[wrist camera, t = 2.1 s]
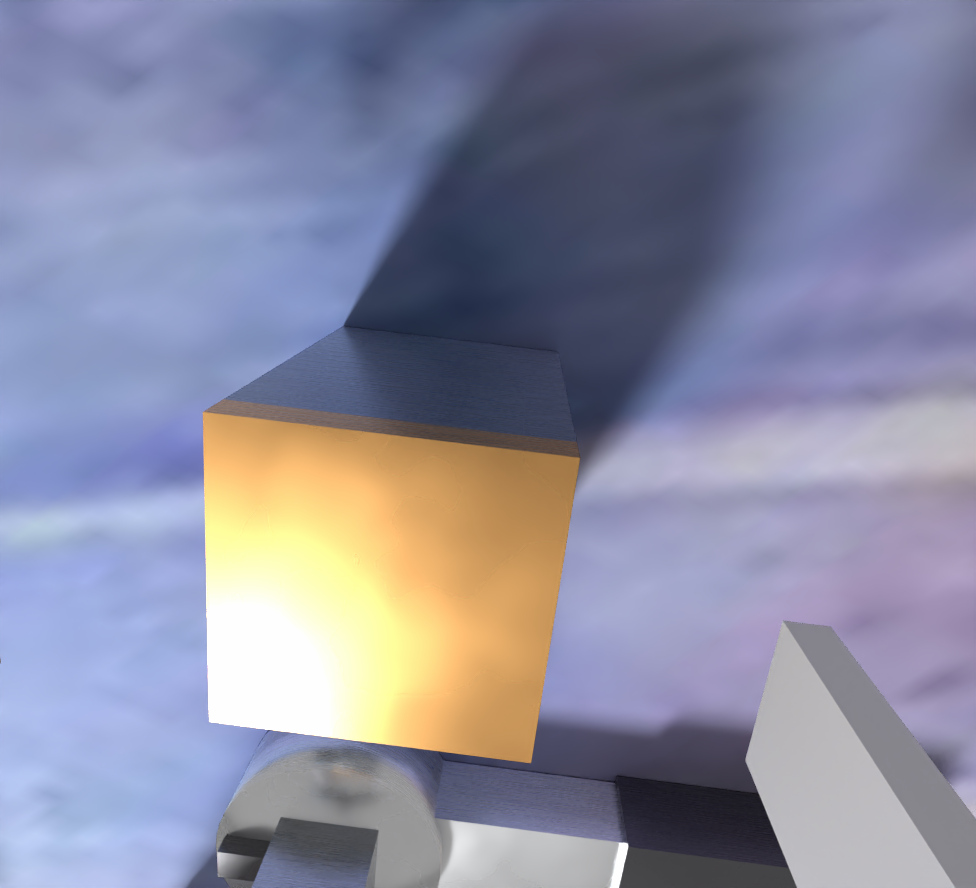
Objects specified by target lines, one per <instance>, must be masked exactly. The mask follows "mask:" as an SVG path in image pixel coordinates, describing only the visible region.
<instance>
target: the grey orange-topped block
mask: <svg viewBox="0 0 976 888" xmlns="http://www.w3.org/2000/svg"><path fill="white" fill-rule="evenodd" d="M203 439H204V487H205V535H206V583H207V631H208V679H209V722H216V723H224V724H232V725H240V726H247V727H255V728H263V729H271V730H278V731H286V732H294V733H301V734H309V735H317V736H325V737H332V738H340V739H348V740H355V741H363V742H371V743H379V744H386V745H394V746H402V747H409V748H417V749H425V750H433V751H440V752H448V753H456V754H464V755H471V756H479V757H487V758H494V759H502V760H510V761H518V762H525V763H531V760H532V754H533V748H534V742H535V735H536V729H537V723H538V717H539V711H540V704H541V698H542V692H543V686H544V679H545V673H546V667H547V661H548V655H549V648H550V642H551V636H552V630H553V624H554V617H555V611H556V605H557V599H558V593H559V586H560V580H561V574H562V568H563V562H564V555H565V549H566V543H567V537H568V530H569V524H570V518H571V512H572V506H573V499H574V493H575V487H576V481H577V475H578V468H579V462H580V455H579V450H578V445H577V440H576V436H575V431H574V426H573V421H572V417H571V412H570V407H569V402H568V397H567V393H566V388H565V383H564V378H563V374H562V369H561V364H560V359H559V355H558V352H555V351H546V350H538V349H530V348H521V347H513V346H504V345H496V344H488V343H479V342H471V341H462V340H454V339H446V338H437V337H429V336H420V335H412V334H404V333H395V332H387V331H378V330H370V329H362V328H353V327H345V326H342V327H341V328H339V329H337V330H336V331H334V332H332V333H331V334H329V335H328V336H326V337H324V338H323V339H321V340H319V341H318V342H316V343H315V344H313V345H311V346H310V347H308V348H306V349H305V350H303V351H301V352H300V353H298V354H297V355H295V356H293V357H292V358H290V359H288V360H287V361H285V362H284V363H282V364H280V365H279V366H277V367H275V368H274V369H272V370H271V371H269V372H267V373H266V374H264V375H262V376H261V377H259V378H257V379H256V380H254V381H253V382H251V383H249V384H248V385H246V386H244V387H243V388H241V389H240V390H238V391H236V392H235V393H233V394H231V395H230V396H228V397H227V398H225V399H223V400H222V401H220V402H218V403H217V404H215V405H214V406H212V407H210V408H209V409H207V410H205V411H204V412H203Z"/></svg>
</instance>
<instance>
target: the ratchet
mask: <svg viewBox="0 0 976 888" xmlns="http://www.w3.org/2000/svg"><path fill="white" fill-rule="evenodd" d="M216 851H217V870H218V877H222V878H224V879H225V881H226V882H227V884H228V885H229V887H230V888H797V886H796V884H795V881H794V879H793V876H792V874H791V871H790V869H789V867H788V864H787V862H786V859H785V857H784V854H783V852H782V849H781V847H780V844H779V842H778V839H777V837H776V835H775V832H774V830H773V827H772V825H771V822H770V820H769V817H768V815H767V812H766V810H765V807H764V805H763V802H762V800H761V798H760V795H759V794H753V793H745V792H737V791H729V790H722V789H714V788H706V787H698V786H691V785H683V784H675V783H668V782H660V781H652V780H644V779H637V778H629V777H621V776H617V778H616V783H612V782H604V781H597V780H589V779H581V778H574V777H566V776H558V775H551V774H543V773H535V772H527V771H520V770H512V769H504V768H497V767H489V766H481V765H474V764H466V763H458V762H450V761H443V759H442V757H441V755H440V754H439V752H438V751H433V750H425V749H417V748H409V747H402V746H394V745H386V744H379V743H371V742H363V741H355V740H348V739H340V738H332V737H325V736H317V735H309V734H301V733H294V732H286V731H278V730H271V729H270V730H269V731H268V732H267V733H266V735H265V736H264V738H263V739H262V741H261V742H260V744H259V746H258V748H257V750H256V752H255V754H254V756H253V758H252V760H251V762H250V764H249V765H248V767H247V769H246V771H245V773H244V775H243V777H242V779H241V781H240V783H239V785H238V787H237V789H236V791H235V793H234V795H233V797H232V799H231V801H230V803H229V805H228V807H227V809H226V811H225V813H224V815H223V817H222V820H221V822H220V824H219V828H218V832H217V839H216Z"/></svg>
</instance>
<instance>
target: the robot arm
mask: <svg viewBox="0 0 976 888" xmlns="http://www.w3.org/2000/svg"><path fill="white" fill-rule="evenodd" d="M0 663H1V660H0ZM745 761H746V763H747V766H748V768H749V770H750V773H751V775H752V778H753V780H754V783H755V785H756V788H757V790H758V793H759V795H760V798H761V800H762V802H763V805H764V807H765V810H766V812H767V815H768V817H769V820H770V822H771V825H772V827H773V830H774V832H775V835H776V837H777V839H778V842H779V844H780V847H781V849H782V852H783V854H784V857H785V859H786V862H787V864H788V867H789V869H790V871H791V874H792V876H793V879H794V881H795V884H796V886H797V888H976V819H975V817H974V816H973V815H972V813H971V812H970V811H969V809H968V808H967V807H966V805H965V804H964V803H963V801H962V800H961V799H960V797H959V796H958V795H957V793H956V792H955V791H954V789H953V788H952V787H951V785H950V784H949V783H948V781H947V780H946V779H945V777H944V776H943V775H942V774H941V772H940V771H939V770H938V768H937V767H936V766H935V764H934V763H933V762H932V760H931V759H930V758H929V756H928V755H927V754H926V752H925V751H924V750H923V748H922V747H921V746H920V744H919V743H918V742H917V740H916V739H915V738H914V736H913V735H912V734H911V732H910V731H909V730H908V728H907V727H906V726H905V724H904V723H903V722H902V720H901V719H900V718H899V717H898V715H897V714H896V713H895V711H894V710H893V709H892V707H891V706H890V705H889V703H888V702H887V701H886V699H885V698H884V697H883V695H882V694H881V693H880V691H879V690H878V689H877V687H876V686H875V685H874V683H873V682H872V681H871V679H870V678H869V677H868V675H867V674H866V673H865V671H864V670H863V669H862V667H861V666H860V665H859V664H858V662H857V661H856V660H855V658H854V657H853V656H852V654H851V653H850V652H849V650H848V649H847V648H846V646H845V645H844V644H843V642H842V641H841V640H840V638H839V637H838V636H837V634H836V633H835V632H834V630H833V629H832V628H831V627H829V626H821V625H813V624H806V623H798V622H790V621H783V622H782V626H781V630H780V633H779V637H778V641H777V645H776V648H775V652H774V656H773V659H772V663H771V667H770V670H769V674H768V678H767V681H766V685H765V689H764V693H763V696H762V700H761V704H760V707H759V711H758V715H757V718H756V722H755V726H754V730H753V733H752V737H751V741H750V744H749V748H748V752H747V755H746V759H745Z"/></svg>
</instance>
